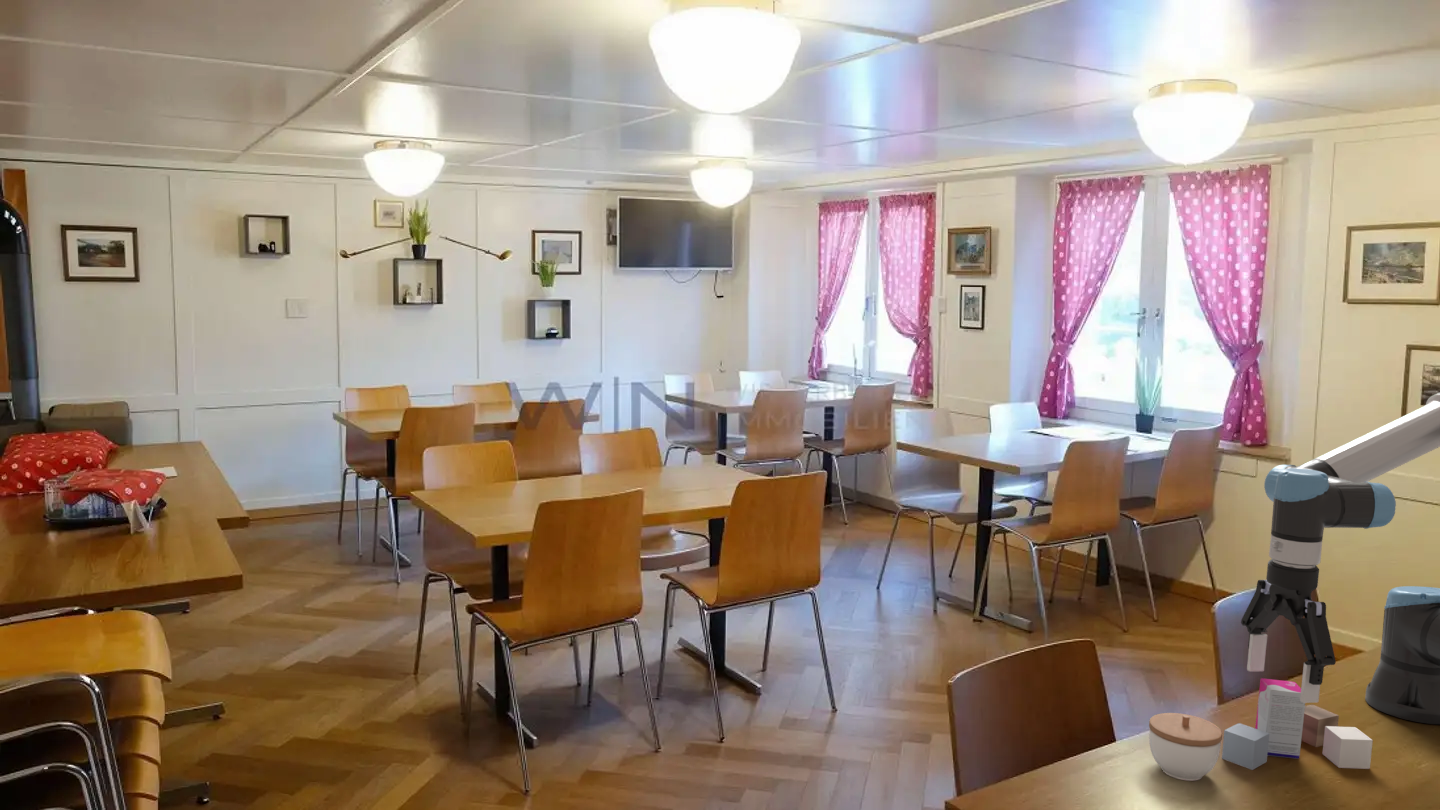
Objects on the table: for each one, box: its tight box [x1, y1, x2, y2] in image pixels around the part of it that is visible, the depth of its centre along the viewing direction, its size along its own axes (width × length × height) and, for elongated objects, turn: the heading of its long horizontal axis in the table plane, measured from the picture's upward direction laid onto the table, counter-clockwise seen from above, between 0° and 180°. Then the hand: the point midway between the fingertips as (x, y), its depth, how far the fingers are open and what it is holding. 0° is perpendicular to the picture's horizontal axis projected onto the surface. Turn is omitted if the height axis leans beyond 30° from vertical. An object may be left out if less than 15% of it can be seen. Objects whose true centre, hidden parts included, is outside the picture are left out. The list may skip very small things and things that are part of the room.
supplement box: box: [1254, 677, 1306, 760], centre depth 178 cm, size 6×6×12 cm
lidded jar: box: [1148, 712, 1223, 782], centre depth 169 cm, size 11×11×9 cm
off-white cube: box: [1322, 726, 1374, 770], centre depth 175 cm, size 5×5×5 cm
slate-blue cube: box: [1221, 722, 1269, 771], centre depth 174 cm, size 5×5×5 cm
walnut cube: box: [1301, 704, 1340, 748], centre depth 183 cm, size 5×5×5 cm
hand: (1281, 685), depth 177 cm, fingers open, 13 cm apart
